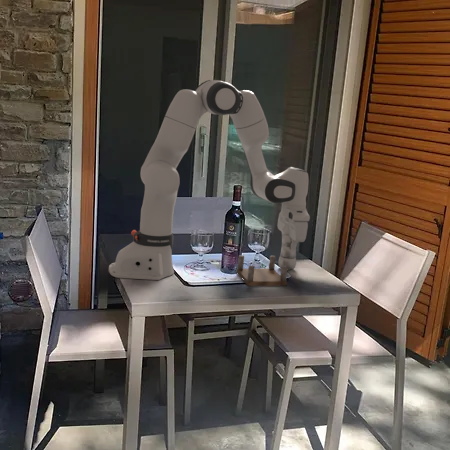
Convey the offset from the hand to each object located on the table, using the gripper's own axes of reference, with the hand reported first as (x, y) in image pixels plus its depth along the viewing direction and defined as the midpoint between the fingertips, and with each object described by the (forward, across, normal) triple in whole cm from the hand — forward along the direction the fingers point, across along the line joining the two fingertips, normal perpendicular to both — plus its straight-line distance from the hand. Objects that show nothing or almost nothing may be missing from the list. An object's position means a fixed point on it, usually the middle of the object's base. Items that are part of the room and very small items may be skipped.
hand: (288, 247), depth 215 cm
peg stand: (+9, +11, -14) cm, 20 cm away
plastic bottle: (+9, 0, 0) cm, 9 cm away
